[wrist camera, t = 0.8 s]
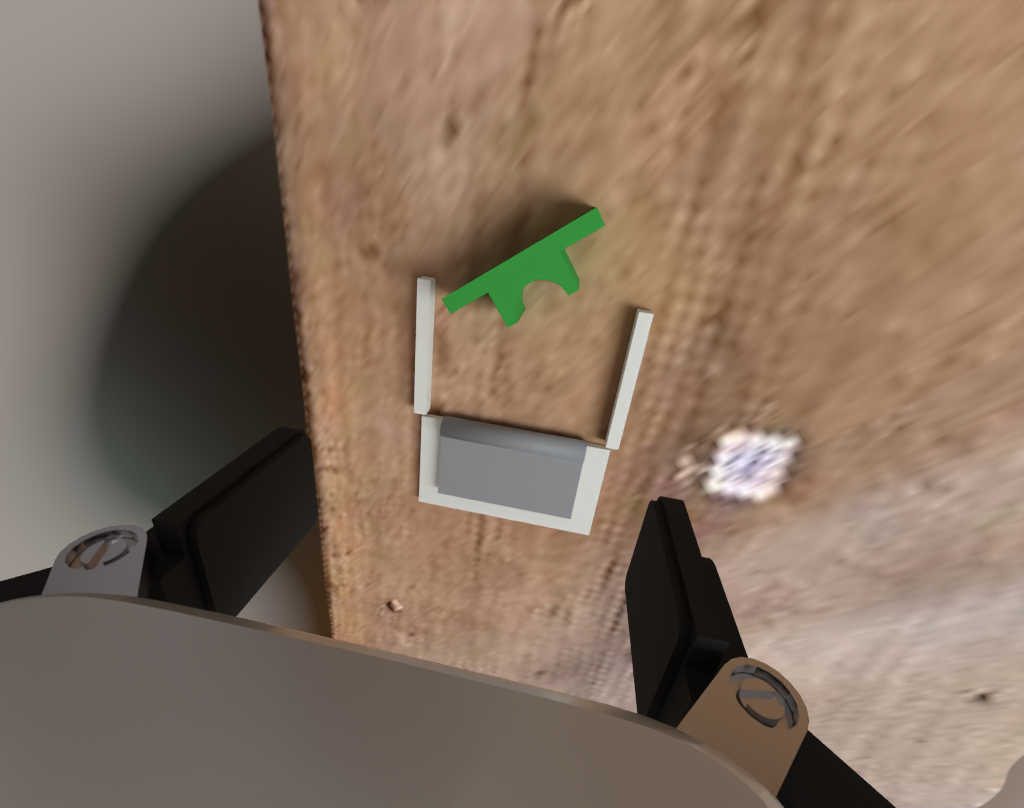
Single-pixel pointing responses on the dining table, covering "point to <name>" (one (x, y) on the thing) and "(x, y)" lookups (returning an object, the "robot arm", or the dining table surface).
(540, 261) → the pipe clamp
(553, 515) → the hinge base
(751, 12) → the dining table surface
